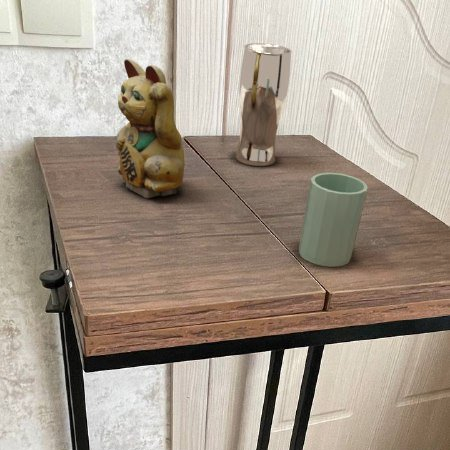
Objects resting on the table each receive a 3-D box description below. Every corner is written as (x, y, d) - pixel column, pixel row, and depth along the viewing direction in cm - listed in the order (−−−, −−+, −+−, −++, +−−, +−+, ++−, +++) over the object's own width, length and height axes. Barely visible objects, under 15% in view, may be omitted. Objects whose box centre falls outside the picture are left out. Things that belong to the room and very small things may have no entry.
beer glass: (286, 160, 96) (302, 50, 87) (263, 171, 91) (277, 56, 82) (247, 148, 99) (259, 40, 89) (223, 158, 94) (233, 46, 85)
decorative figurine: (105, 182, 83) (101, 55, 73) (151, 170, 88) (153, 49, 78) (155, 206, 78) (157, 74, 69) (201, 192, 83) (209, 67, 74)
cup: (344, 244, 74) (360, 174, 69) (355, 268, 70) (373, 195, 65) (295, 241, 74) (307, 171, 69) (302, 265, 69) (316, 191, 64)
